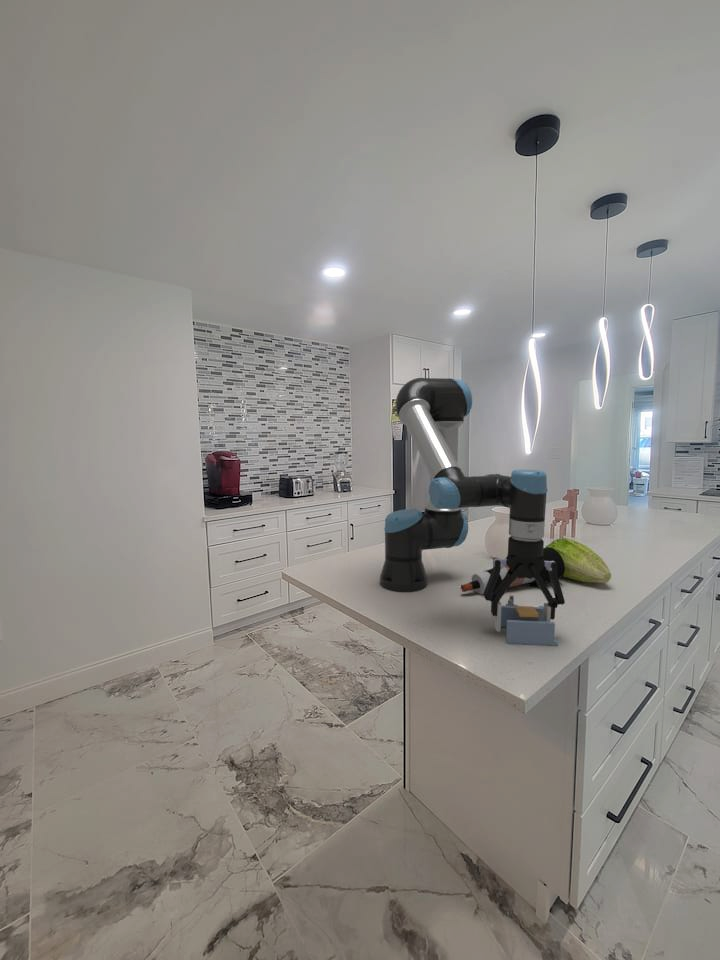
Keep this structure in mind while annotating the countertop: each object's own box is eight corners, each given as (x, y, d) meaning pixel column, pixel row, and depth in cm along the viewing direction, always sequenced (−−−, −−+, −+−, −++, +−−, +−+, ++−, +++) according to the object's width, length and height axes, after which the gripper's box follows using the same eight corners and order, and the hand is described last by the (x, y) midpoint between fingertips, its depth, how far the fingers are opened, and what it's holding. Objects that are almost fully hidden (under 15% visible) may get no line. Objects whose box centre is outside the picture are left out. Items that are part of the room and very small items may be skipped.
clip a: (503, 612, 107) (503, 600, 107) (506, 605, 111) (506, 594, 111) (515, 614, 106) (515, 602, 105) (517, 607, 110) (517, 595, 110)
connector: (519, 640, 92) (519, 613, 92) (514, 631, 96) (515, 605, 96) (537, 641, 92) (538, 613, 91) (532, 632, 96) (533, 606, 95)
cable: (460, 607, 122) (449, 574, 125) (547, 580, 133) (535, 551, 136) (477, 604, 113) (465, 568, 116) (570, 575, 124) (556, 543, 127)
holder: (507, 643, 91) (507, 621, 90) (498, 625, 100) (499, 605, 99) (557, 645, 90) (558, 623, 89) (544, 627, 98) (545, 607, 98)
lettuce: (587, 576, 118) (619, 547, 120) (531, 549, 138) (559, 525, 140) (599, 606, 122) (629, 578, 125) (543, 576, 142) (570, 552, 145)
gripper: (477, 539, 90) (474, 634, 93) (585, 543, 87) (579, 641, 90) (472, 532, 98) (469, 620, 100) (572, 535, 95) (566, 626, 97)
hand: (521, 630), depth 95 cm, fingers open, 10 cm apart
